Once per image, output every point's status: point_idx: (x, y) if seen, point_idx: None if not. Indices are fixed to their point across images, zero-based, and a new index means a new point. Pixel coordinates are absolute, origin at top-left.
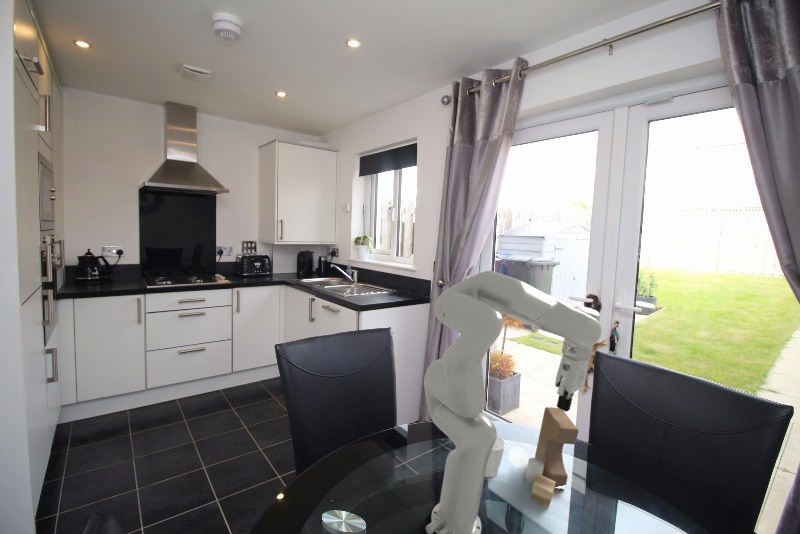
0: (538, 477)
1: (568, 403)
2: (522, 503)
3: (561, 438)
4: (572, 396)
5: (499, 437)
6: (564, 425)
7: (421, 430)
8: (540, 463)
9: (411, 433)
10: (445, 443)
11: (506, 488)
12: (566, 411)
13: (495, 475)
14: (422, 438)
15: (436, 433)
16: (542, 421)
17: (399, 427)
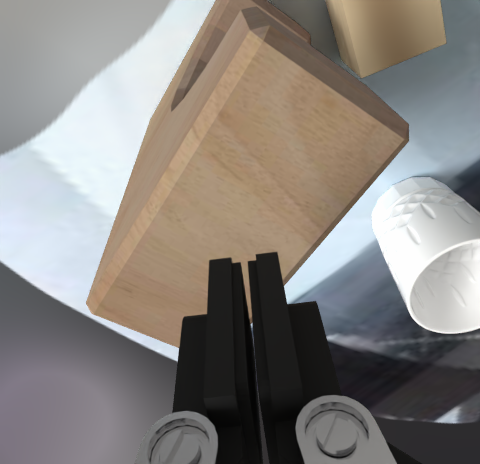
0: (385, 58)
1: (291, 335)
2: (465, 28)
3: (366, 88)
4: (165, 424)
5: (411, 291)
6: (332, 150)
7: (423, 396)
8: None
9: (458, 396)
10: (413, 340)
11: (440, 115)
12: (275, 255)
13: (418, 177)
14: (451, 374)
15: (396, 376)
16: None
17: (463, 420)
